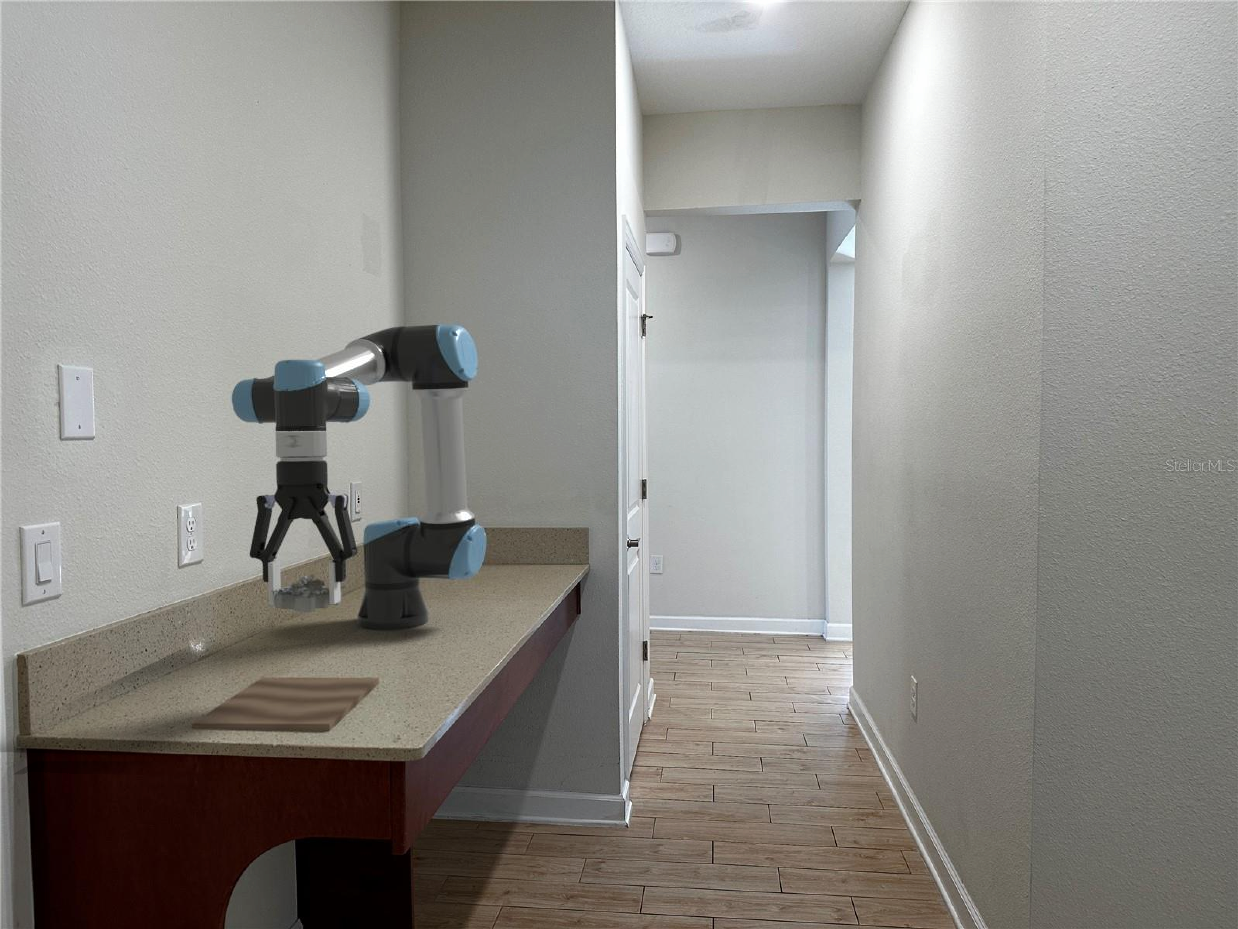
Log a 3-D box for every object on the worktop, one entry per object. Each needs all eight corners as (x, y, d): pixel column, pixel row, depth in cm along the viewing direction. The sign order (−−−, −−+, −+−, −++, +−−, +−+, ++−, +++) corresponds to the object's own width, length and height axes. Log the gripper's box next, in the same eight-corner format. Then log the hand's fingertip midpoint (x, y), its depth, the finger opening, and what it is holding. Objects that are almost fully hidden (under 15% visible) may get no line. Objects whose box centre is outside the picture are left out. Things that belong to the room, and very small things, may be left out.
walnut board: (262, 684, 144) (261, 677, 144) (378, 684, 143) (378, 677, 143) (192, 731, 122) (192, 723, 122) (329, 732, 121) (329, 723, 121)
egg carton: (311, 597, 141) (313, 573, 141) (349, 604, 139) (351, 579, 138) (265, 607, 131) (267, 580, 131) (304, 614, 129) (306, 588, 128)
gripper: (221, 460, 130) (225, 607, 131) (362, 459, 129) (365, 607, 130) (245, 459, 137) (248, 598, 138) (377, 458, 137) (380, 597, 137)
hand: (305, 602), depth 134 cm, fingers closed on egg carton, 9 cm apart
